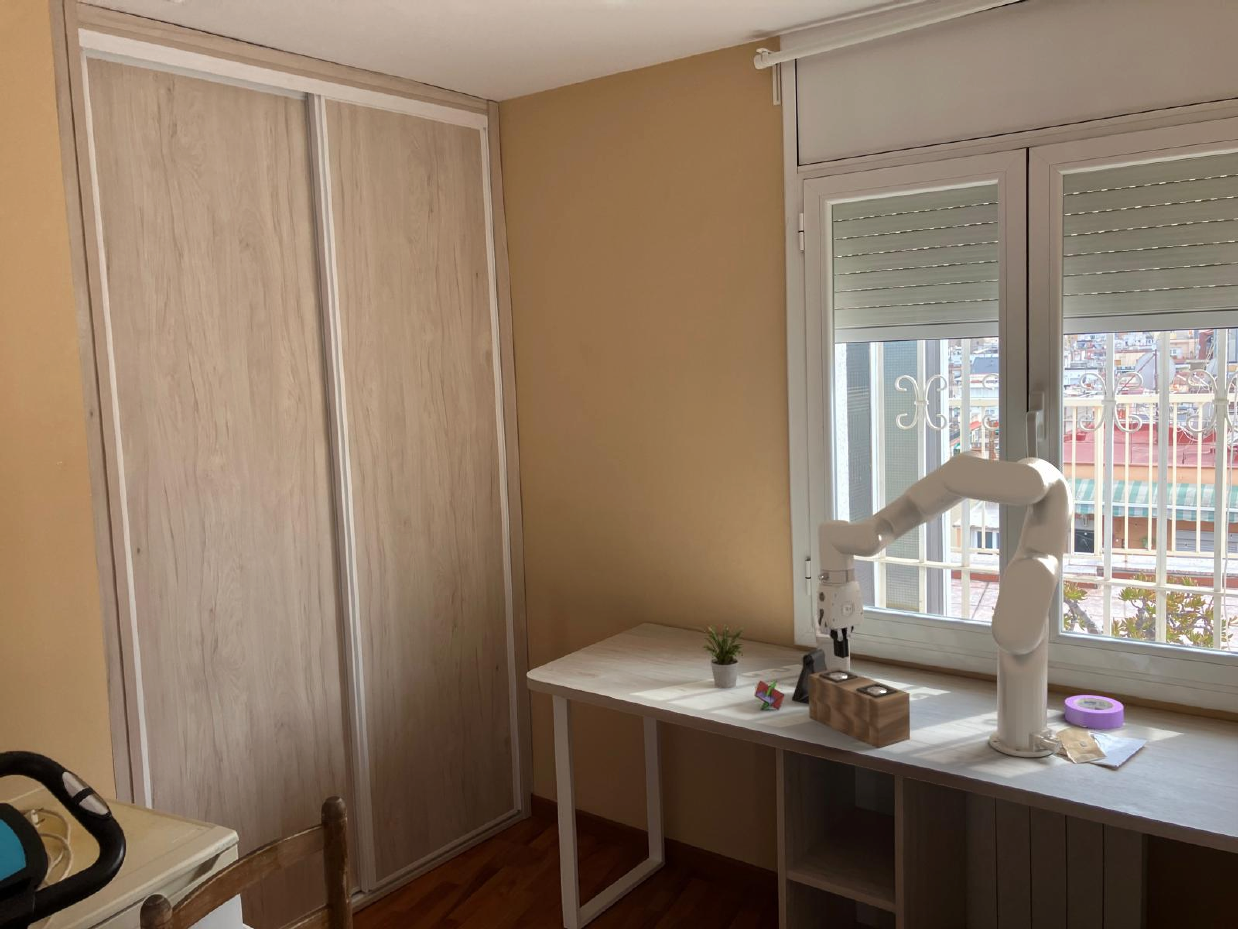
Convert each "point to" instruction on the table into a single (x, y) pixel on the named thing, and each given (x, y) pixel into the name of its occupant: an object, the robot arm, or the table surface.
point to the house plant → (724, 658)
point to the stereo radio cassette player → (829, 649)
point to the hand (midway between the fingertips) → (841, 656)
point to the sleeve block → (859, 708)
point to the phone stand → (811, 665)
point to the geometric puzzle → (769, 694)
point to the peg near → (876, 690)
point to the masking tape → (1094, 712)
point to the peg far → (838, 675)
